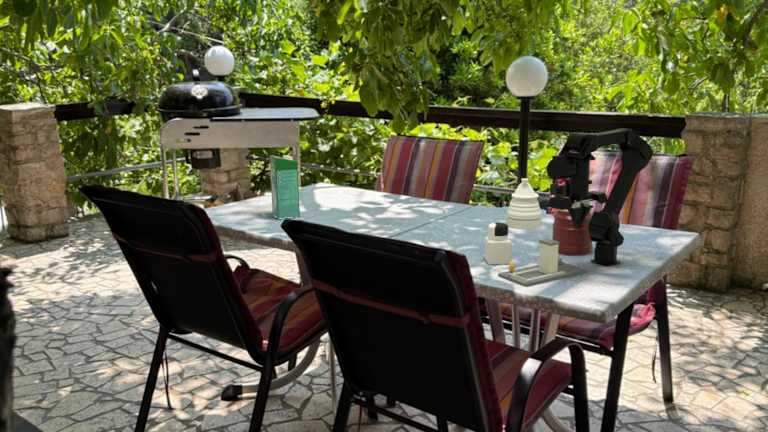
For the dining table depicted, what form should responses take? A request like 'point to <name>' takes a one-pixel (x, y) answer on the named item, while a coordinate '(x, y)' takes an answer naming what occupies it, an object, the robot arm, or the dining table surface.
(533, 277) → the console
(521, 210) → the honey pot
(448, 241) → the dining table surface
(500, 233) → the medicine bottle
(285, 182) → the milk carton
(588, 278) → the dining table surface
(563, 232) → the canister
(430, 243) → the dining table surface
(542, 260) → the fader tab
